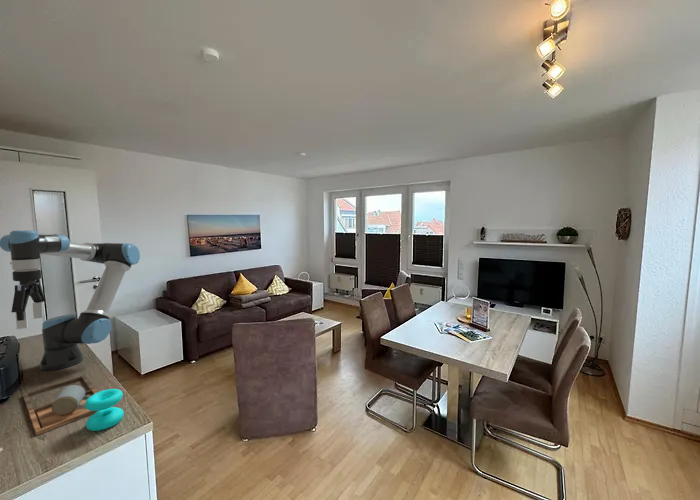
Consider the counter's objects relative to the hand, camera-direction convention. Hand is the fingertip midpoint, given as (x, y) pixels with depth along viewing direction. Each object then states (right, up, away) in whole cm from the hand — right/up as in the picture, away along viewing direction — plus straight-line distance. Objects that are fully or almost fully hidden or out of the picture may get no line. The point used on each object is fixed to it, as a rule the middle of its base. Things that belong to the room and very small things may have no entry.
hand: (31, 323), depth 117 cm
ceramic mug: (+25, -30, -8) cm, 40 cm away
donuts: (+42, -31, -15) cm, 55 cm away
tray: (+17, -29, -4) cm, 34 cm away
